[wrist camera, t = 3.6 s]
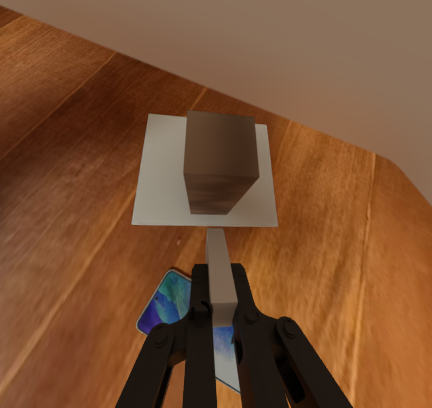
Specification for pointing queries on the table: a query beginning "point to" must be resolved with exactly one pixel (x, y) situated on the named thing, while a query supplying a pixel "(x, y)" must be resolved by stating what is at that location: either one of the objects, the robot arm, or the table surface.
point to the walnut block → (219, 161)
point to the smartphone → (175, 310)
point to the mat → (176, 190)
